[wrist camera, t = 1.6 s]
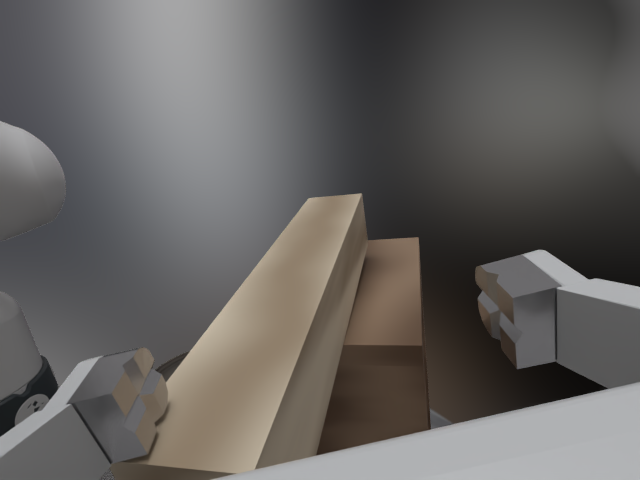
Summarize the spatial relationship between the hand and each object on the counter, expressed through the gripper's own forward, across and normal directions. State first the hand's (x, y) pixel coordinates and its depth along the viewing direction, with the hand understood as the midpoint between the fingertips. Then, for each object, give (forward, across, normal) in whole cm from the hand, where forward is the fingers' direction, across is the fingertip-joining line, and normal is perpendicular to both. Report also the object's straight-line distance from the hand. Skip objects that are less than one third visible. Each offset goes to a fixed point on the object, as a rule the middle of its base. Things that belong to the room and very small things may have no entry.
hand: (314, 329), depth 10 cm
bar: (+7, +1, +5) cm, 9 cm away
